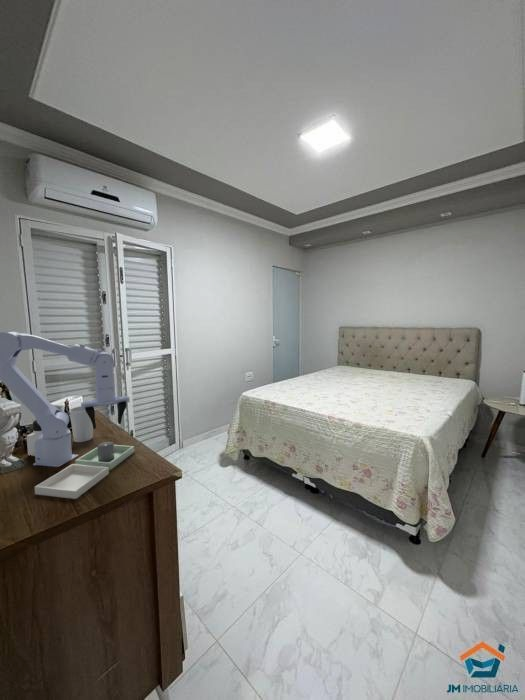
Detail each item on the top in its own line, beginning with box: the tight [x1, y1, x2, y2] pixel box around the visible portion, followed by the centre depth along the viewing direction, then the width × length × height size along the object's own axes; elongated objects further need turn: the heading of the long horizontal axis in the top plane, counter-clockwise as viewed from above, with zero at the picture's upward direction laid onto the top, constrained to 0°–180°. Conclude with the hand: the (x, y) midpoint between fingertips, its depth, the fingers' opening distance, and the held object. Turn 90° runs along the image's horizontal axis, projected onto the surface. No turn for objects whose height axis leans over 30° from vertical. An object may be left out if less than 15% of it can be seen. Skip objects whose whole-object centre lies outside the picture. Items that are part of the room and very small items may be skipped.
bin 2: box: [74, 444, 135, 471], centre depth 91 cm, size 12×12×3 cm
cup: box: [69, 405, 94, 443], centre depth 107 cm, size 8×8×12 cm
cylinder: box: [96, 441, 115, 462], centre depth 90 cm, size 5×5×5 cm
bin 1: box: [34, 463, 110, 500], centre depth 77 cm, size 12×12×3 cm
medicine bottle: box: [26, 419, 43, 457], centre depth 96 cm, size 7×7×12 cm
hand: (107, 425), depth 97 cm, fingers open, 7 cm apart
